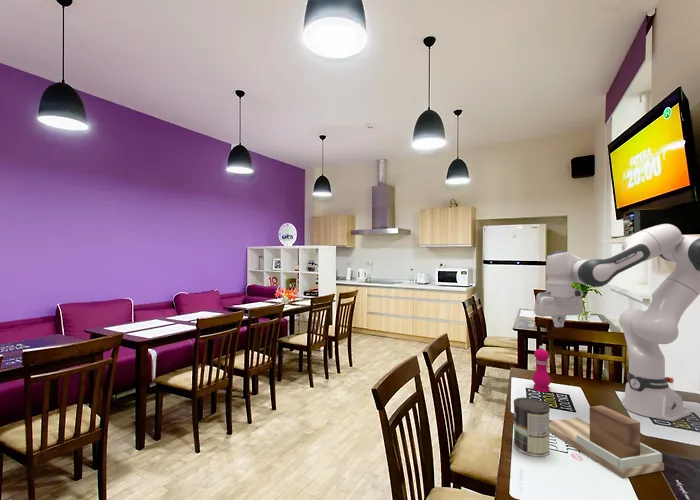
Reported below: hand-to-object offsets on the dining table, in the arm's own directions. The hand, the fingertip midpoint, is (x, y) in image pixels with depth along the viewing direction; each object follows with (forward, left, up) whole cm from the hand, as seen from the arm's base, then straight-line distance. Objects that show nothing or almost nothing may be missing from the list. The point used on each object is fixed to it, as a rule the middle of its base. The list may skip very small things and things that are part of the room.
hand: (558, 326), depth 141 cm
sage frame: (+9, +31, -31) cm, 45 cm away
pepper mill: (-10, -20, -33) cm, 40 cm away
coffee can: (+30, +20, -33) cm, 49 cm away
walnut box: (+9, +30, -31) cm, 44 cm away
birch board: (+9, +24, -33) cm, 42 cm away
